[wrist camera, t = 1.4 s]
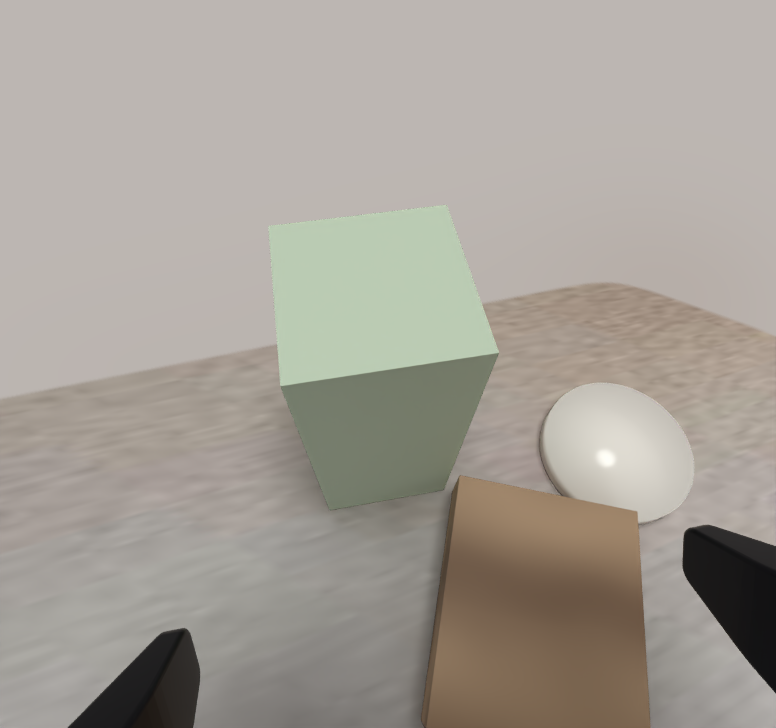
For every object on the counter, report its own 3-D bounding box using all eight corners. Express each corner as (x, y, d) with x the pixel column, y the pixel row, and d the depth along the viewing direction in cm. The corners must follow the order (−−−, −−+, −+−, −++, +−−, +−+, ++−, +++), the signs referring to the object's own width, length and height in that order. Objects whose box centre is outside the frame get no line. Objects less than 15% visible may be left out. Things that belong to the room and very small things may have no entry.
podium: (620, 770, 18) (654, 788, 15) (420, 719, 18) (426, 730, 16) (612, 524, 22) (637, 511, 20) (452, 491, 23) (459, 475, 21)
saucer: (690, 540, 22) (703, 536, 21) (536, 508, 22) (542, 503, 21) (675, 404, 25) (685, 396, 24) (542, 380, 26) (547, 371, 25)
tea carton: (443, 489, 23) (499, 352, 12) (329, 510, 22) (280, 386, 11) (419, 389, 25) (446, 204, 15) (317, 405, 25) (268, 226, 14)
